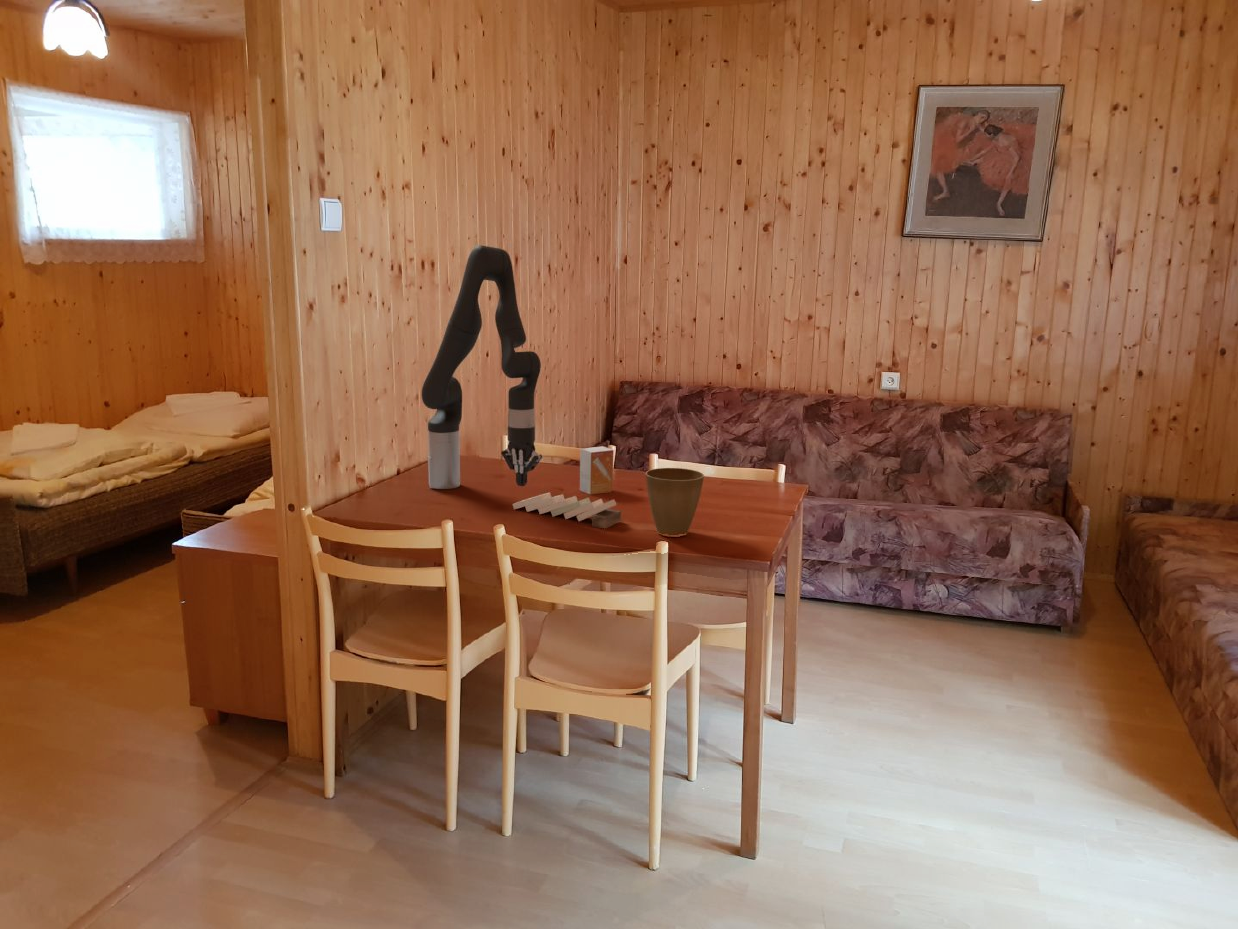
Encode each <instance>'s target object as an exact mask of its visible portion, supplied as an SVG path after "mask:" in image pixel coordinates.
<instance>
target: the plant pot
mask: <svg viewBox="0 0 1238 929" xmlns="http://www.w3.org/2000/svg"><path fill="white" fill-rule="evenodd" d="M704 478H705V474H704V473H703V472H700V471H698V470H694V469H688V468H681V467H680V468H679V467H661V468H660V467H659V468H653V469H649V470H647V471H646V472H645V480H646V482H645V483H646V488H647V489H646V490H647V495H648V496H647V497H648V501H649V505H650V510H651V515H652V518H653V522H654V524H655V528H656V531H657V533H658V532H659V533H661V534H668V535H679V534H685V533H687V534H688V533H689V530H690V527H691V525H692V524H693V523H692V522H693V520H694V517H695V515H696V511H697V509H698V504H699V502H700V497H701V492H702V489H703V484H704V480H705V479H704Z"/></svg>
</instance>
